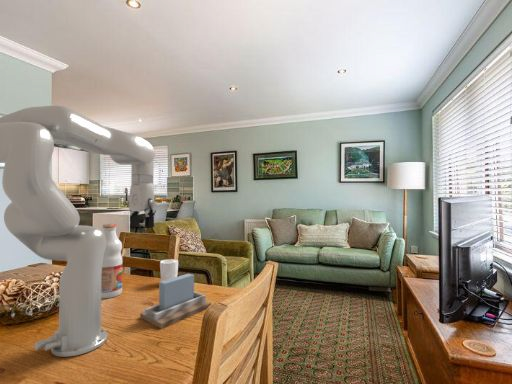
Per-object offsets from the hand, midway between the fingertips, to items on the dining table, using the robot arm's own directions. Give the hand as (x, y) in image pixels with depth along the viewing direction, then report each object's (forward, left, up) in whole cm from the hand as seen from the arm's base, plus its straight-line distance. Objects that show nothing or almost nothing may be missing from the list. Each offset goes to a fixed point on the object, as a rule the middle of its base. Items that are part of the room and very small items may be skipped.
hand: (142, 226), depth 99 cm
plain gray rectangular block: (+4, -16, -27) cm, 31 cm away
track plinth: (+4, -16, -28) cm, 33 cm away
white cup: (+20, +12, -28) cm, 37 cm away
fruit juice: (-3, +19, -28) cm, 34 cm away
